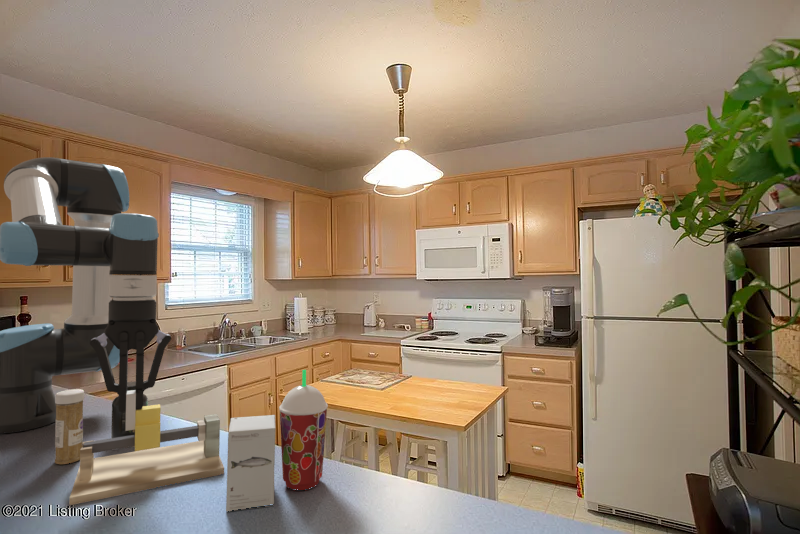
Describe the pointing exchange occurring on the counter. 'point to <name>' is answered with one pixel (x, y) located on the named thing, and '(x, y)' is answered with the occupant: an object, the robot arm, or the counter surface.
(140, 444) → the sleeve
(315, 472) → the smoothie
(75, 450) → the sprinkles bottle
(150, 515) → the counter surface
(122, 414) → the supplement bottle
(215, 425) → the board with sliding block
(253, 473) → the supplement box
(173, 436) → the gray square bar
